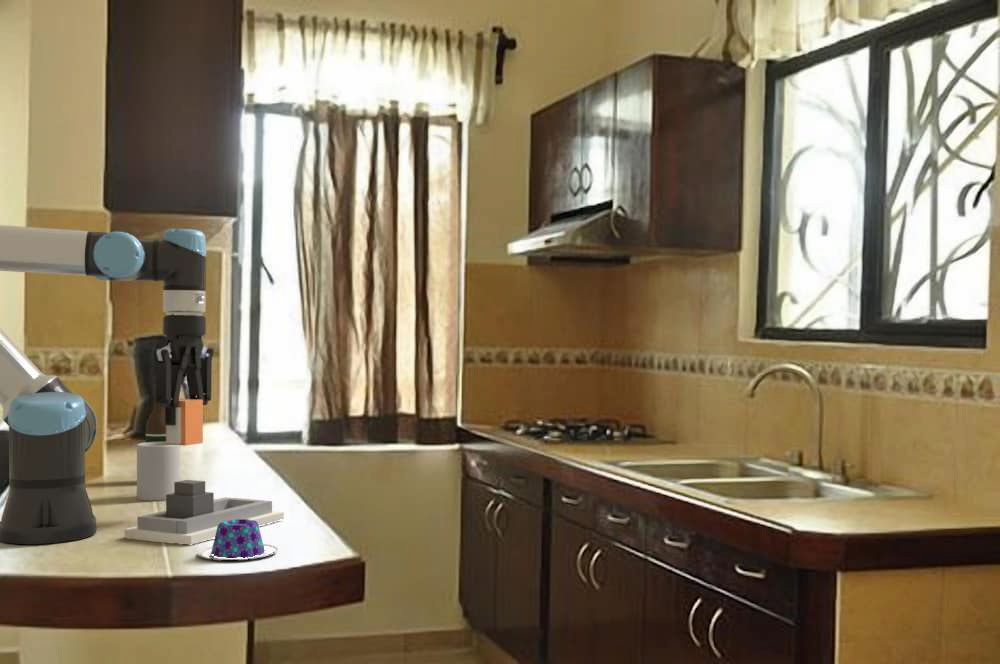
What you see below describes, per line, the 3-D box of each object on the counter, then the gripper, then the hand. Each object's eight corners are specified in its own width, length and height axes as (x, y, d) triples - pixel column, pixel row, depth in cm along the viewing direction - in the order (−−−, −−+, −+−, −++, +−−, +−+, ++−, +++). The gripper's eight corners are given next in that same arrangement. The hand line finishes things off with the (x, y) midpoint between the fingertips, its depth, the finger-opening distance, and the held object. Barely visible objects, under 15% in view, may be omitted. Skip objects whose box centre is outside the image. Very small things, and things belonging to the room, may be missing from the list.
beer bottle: (153, 485, 236) (152, 375, 236) (138, 481, 242) (138, 374, 242) (186, 482, 241) (186, 374, 241) (171, 478, 247) (171, 373, 247)
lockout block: (185, 445, 194) (185, 401, 194) (165, 444, 196) (165, 400, 196) (202, 443, 199) (202, 399, 198) (183, 442, 201) (183, 398, 200)
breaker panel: (191, 545, 171) (191, 523, 171) (124, 538, 177) (124, 516, 177) (283, 520, 193) (283, 501, 193) (221, 514, 199) (221, 495, 199)
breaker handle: (193, 527, 178) (193, 484, 178) (166, 524, 180) (166, 482, 180) (213, 522, 182) (213, 480, 182) (186, 519, 185) (186, 478, 185)
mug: (178, 500, 216) (178, 445, 216) (133, 501, 214) (133, 446, 214) (184, 491, 228) (184, 439, 228) (142, 492, 226) (141, 440, 226)
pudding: (240, 545, 173) (239, 512, 173) (294, 553, 167) (294, 519, 167) (180, 558, 163) (180, 524, 163) (236, 568, 157) (236, 532, 157)
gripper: (166, 313, 188) (165, 447, 188) (232, 315, 204) (231, 438, 204) (133, 313, 191) (132, 445, 191) (201, 314, 207) (200, 436, 207)
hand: (184, 441), depth 197 cm, fingers closed on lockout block, 5 cm apart
